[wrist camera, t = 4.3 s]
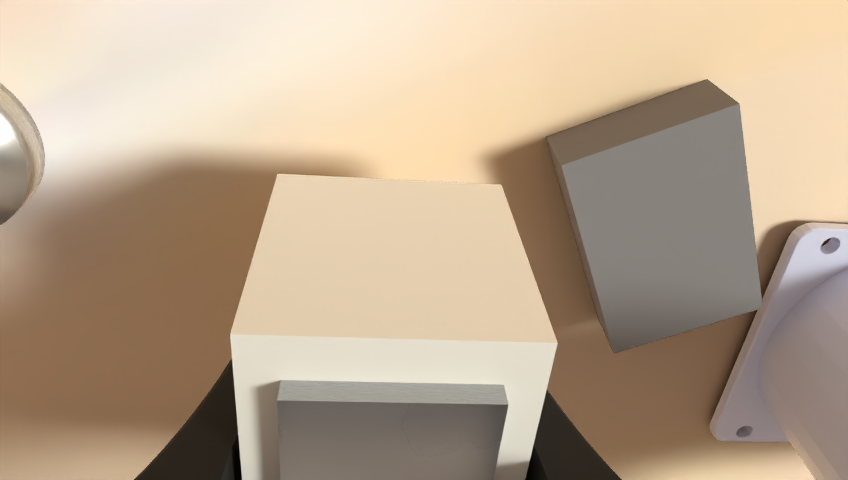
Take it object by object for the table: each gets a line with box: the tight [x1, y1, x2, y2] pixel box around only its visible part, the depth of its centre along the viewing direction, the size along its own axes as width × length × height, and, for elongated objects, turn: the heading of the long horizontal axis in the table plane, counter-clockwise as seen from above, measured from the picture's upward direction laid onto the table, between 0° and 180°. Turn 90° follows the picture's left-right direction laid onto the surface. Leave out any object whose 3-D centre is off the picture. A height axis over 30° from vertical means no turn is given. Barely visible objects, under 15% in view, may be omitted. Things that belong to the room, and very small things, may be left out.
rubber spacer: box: [546, 79, 763, 353], centre depth 17 cm, size 4×6×2 cm, turn 20°
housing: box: [230, 174, 558, 480], centre depth 13 cm, size 4×8×5 cm, turn 175°
